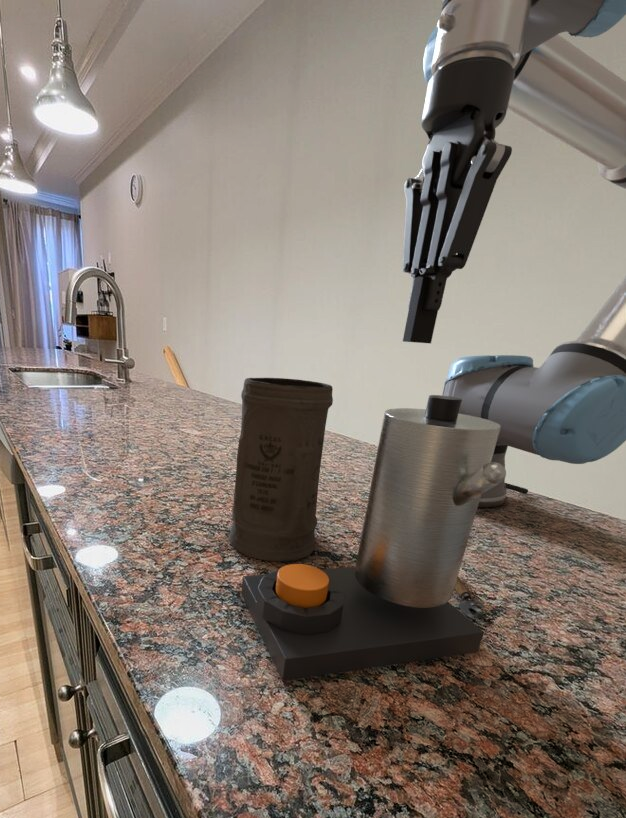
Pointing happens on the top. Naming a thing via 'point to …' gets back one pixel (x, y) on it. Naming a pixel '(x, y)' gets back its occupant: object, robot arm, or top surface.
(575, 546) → the top surface
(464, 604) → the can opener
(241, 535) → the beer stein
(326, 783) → the top surface
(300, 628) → the kettle base
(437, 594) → the kettle
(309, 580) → the kettle button
